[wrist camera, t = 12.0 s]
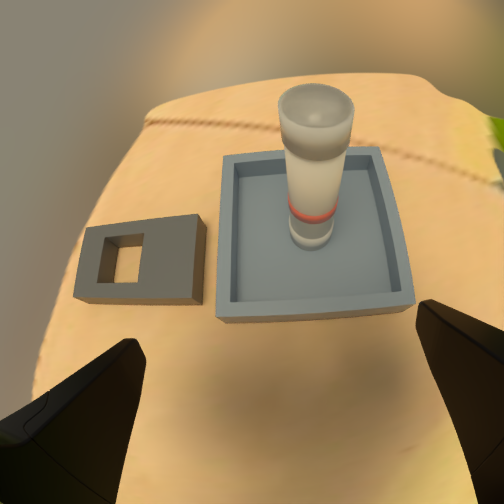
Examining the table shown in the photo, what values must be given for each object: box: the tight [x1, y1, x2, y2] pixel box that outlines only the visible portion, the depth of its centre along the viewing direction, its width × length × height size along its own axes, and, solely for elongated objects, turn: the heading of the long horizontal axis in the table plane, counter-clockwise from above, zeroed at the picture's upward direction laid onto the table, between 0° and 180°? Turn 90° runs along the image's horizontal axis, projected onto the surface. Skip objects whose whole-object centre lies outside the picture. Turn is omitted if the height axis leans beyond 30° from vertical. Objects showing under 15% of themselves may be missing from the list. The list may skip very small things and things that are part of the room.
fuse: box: [278, 83, 354, 251], centre depth 17 cm, size 3×3×13 cm
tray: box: [216, 147, 416, 323], centre depth 23 cm, size 14×14×3 cm
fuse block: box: [73, 214, 207, 305], centre depth 24 cm, size 7×12×2 cm, turn 90°
